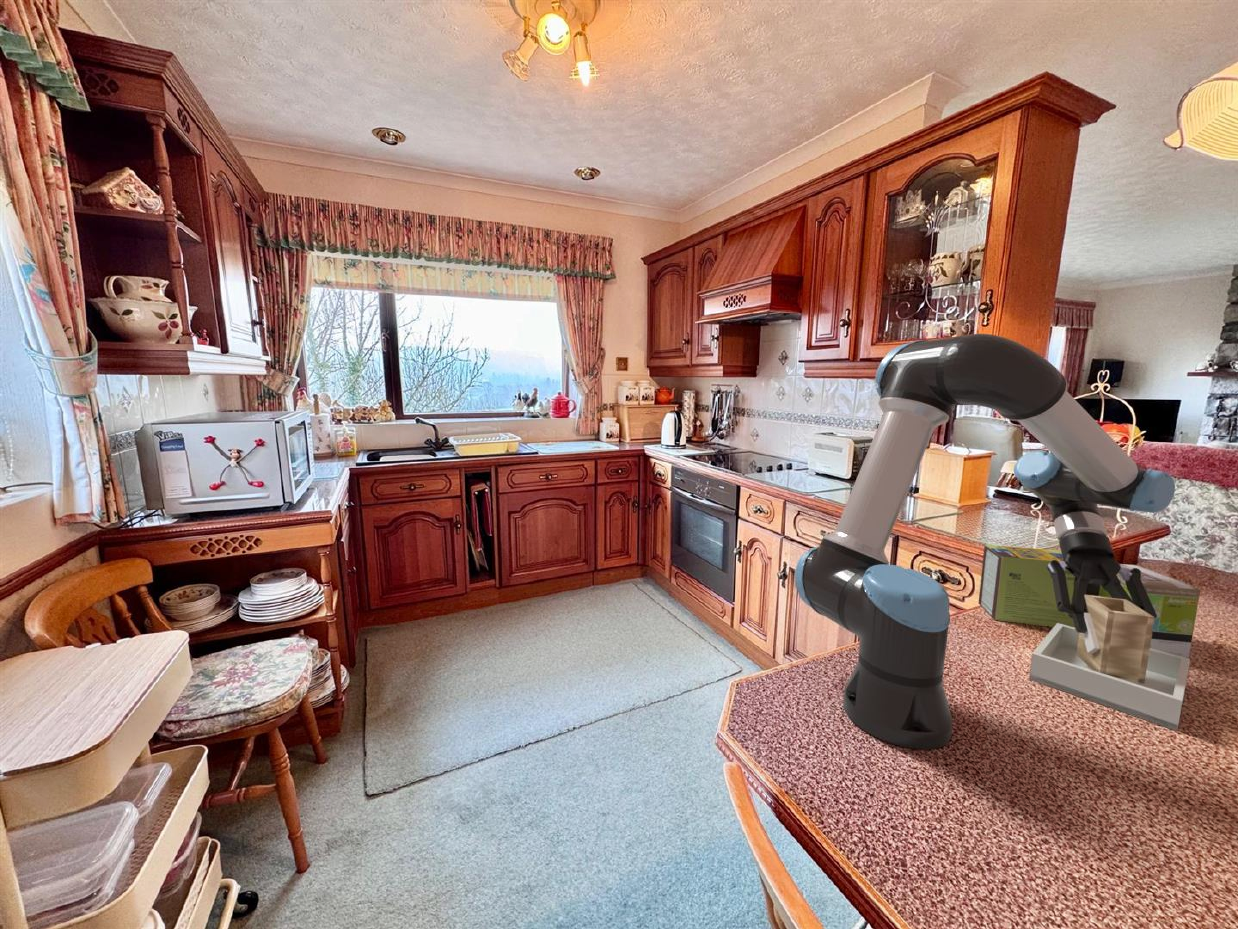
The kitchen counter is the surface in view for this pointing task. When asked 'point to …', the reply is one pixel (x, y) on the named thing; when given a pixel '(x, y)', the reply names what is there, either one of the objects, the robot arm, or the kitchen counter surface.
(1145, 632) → the box
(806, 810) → the kitchen counter surface
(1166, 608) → the tea box
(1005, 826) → the kitchen counter surface
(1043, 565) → the protein box
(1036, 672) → the tray
